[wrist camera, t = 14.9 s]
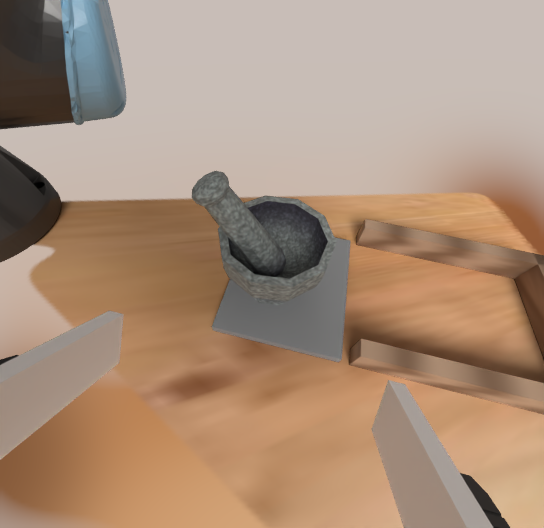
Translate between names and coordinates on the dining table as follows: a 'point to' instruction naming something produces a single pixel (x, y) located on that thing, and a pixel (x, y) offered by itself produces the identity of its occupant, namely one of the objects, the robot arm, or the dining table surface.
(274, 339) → the slate mat
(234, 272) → the mortar and pestle
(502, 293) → the dining table surface
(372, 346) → the rectangular wooden frame
